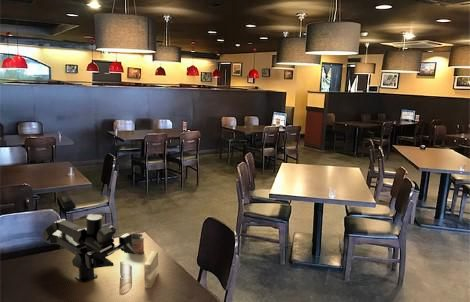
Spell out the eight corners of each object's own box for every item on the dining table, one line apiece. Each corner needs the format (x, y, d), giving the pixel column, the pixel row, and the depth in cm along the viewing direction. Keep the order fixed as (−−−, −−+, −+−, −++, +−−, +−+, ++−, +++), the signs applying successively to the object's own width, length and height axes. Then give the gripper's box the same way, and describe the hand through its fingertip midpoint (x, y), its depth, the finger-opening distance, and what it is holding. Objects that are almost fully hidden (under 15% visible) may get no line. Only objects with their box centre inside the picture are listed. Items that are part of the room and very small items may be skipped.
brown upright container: (126, 253, 173) (126, 233, 172) (130, 250, 177) (129, 230, 175) (142, 255, 171) (141, 235, 170) (145, 252, 175) (145, 232, 173)
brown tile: (144, 287, 145) (144, 264, 143) (152, 272, 156) (152, 250, 155) (150, 288, 144) (150, 264, 143) (158, 272, 156) (158, 250, 154)
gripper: (73, 235, 133) (99, 251, 124) (117, 216, 147) (143, 229, 138) (77, 261, 136) (102, 278, 128) (119, 240, 151) (144, 254, 142)
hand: (123, 258), depth 134 cm, fingers open, 9 cm apart
